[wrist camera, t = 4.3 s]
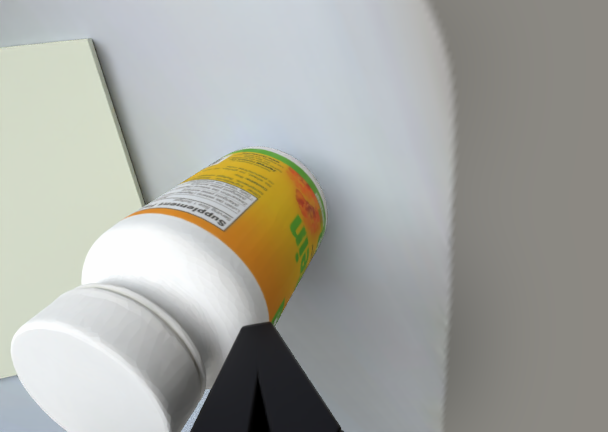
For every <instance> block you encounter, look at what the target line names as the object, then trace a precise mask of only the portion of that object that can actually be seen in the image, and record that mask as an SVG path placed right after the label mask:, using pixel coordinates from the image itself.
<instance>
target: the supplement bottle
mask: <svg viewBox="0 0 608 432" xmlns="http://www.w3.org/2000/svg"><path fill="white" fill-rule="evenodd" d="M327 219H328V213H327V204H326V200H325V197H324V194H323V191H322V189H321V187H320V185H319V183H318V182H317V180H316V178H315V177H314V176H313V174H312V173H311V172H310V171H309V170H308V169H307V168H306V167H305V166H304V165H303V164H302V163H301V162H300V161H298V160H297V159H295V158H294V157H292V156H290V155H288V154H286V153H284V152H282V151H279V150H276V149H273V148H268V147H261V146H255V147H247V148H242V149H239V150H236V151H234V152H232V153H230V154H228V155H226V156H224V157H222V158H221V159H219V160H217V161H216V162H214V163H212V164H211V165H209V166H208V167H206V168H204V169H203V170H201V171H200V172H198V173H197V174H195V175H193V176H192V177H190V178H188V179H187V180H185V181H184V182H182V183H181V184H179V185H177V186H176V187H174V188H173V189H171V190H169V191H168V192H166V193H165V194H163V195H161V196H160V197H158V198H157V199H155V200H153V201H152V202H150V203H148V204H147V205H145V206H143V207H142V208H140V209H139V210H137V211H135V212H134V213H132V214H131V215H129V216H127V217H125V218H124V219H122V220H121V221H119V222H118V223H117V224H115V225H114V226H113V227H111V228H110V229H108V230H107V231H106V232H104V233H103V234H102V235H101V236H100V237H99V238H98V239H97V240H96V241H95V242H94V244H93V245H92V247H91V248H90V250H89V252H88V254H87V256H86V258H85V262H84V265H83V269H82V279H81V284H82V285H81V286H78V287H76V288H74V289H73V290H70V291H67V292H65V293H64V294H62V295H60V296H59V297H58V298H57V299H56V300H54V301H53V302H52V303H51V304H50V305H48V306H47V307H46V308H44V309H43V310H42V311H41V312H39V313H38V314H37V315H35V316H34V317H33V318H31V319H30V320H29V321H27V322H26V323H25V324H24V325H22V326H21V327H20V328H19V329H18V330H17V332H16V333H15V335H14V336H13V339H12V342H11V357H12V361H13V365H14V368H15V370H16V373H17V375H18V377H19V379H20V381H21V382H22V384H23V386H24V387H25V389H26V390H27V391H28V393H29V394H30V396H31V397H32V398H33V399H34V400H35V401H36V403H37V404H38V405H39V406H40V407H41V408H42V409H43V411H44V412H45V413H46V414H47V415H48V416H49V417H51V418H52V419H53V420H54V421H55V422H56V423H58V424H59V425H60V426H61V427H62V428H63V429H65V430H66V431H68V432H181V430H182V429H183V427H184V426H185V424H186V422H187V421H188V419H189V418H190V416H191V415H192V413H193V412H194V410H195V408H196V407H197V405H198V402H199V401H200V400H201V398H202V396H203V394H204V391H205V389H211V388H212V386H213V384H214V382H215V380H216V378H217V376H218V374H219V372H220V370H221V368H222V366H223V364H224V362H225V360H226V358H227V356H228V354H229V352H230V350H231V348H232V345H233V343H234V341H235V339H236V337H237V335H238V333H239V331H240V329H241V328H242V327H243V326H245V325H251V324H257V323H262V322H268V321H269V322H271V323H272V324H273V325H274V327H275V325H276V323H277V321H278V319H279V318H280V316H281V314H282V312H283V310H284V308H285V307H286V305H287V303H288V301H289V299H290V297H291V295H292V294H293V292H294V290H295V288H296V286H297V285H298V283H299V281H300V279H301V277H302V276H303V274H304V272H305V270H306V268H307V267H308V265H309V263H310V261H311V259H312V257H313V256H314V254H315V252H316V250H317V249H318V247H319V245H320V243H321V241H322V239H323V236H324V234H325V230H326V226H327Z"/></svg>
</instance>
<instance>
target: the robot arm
mask: <svg viewBox="0 0 608 432" xmlns="http://www.w3.org/2000/svg"><path fill="white" fill-rule="evenodd" d="M190 432H344V431H343V430H341V427H340V425H339V424H338V422H337V421H336V419H335V418H334V416H333V415H332V413H331V412H330V410H329V408H328V407H327V405H326V404H325V402H324V401H323V399H322V398H321V396H320V395H319V393H318V392H317V390H316V389H315V387H314V386H313V384H312V383H311V381H310V380H309V378H308V377H307V375H306V374H305V372H304V371H303V369H302V368H301V366H300V365H299V363H298V362H297V360H296V359H295V357H294V355H293V354H292V352H291V351H290V349H289V348H288V346H287V345H286V343H285V342H284V340H283V339H282V337H281V336H280V334H279V333H278V331H277V330H276V328H275V327H274V325H273V324H272V323H271V322H269V321H268V322H262V323H257V324H251V325H245V326H243V327H242V328H241V329H240V331H239V333H238V335H237V337H236V339H235V341H234V343H233V345H232V348H231V350H230V352H229V354H228V356H227V358H226V360H225V362H224V364H223V366H222V368H221V370H220V372H219V374H218V376H217V378H216V380H215V382H214V384H213V386H212V388H211V390H210V392H209V394H208V396H207V398H206V400H205V402H204V405H203V407H202V409H201V411H200V413H199V415H198V417H197V419H196V421H195V423H194V425H193V427H192V429H191V431H190Z"/></svg>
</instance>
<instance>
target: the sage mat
mask: <svg viewBox="0 0 608 432" xmlns="http://www.w3.org/2000/svg"><path fill="white" fill-rule="evenodd" d="M143 206H145V203H144V200H143V197H142V194H141V191H140V188H139V184H138V181H137V178H136V175H135V172H134V169H133V166H132V163H131V160H130V157H129V154H128V150H127V147H126V144H125V141H124V138H123V135H122V132H121V129H120V126H119V123H118V119H117V116H116V113H115V110H114V107H113V104H112V101H111V98H110V95H109V92H108V88H107V85H106V82H105V79H104V76H103V73H102V70H101V67H100V64H99V61H98V57H97V54H96V51H95V48H94V45H93V42H92V39H91V38H89V39H79V40H70V41H60V42H51V43H41V44H31V45H22V46H12V47H3V48H0V379H1V378H5V377H10V376H15V375H17V373H16V370H15V368H14V365H13V361H12V357H11V342H12V339H13V336H14V335H15V333H16V332H17V330H18V329H19V328H20V327H21V326H22V325H24V324H25V323H26V322H27V321H29V320H30V319H31V318H33V317H34V316H35V315H37V314H38V313H39V312H41V311H42V310H43V309H44V308H46V307H47V306H48V305H50V304H51V303H52V302H53V301H54V300H56V299H57V298H58V297H59V296H60V295H62V294H64V293H65V292H67V291H70V290H73V289H74V288H76V287H78V286H81V285H82V284H81V279H82V269H83V265H84V262H85V258H86V256H87V254H88V252H89V250H90V248H91V247H92V245H93V244H94V242H95V241H96V240H97V239H98V238H99V237H100V236H101V235H102V234H103V233H104V232H106V231H107V230H108V229H110V228H111V227H113V226H114V225H115V224H117V223H118V222H119V221H121V220H122V219H124V218H125V217H127V216H129V215H131V214H132V213H134V212H135V211H137V210H139V209H140V208H142V207H143Z"/></svg>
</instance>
